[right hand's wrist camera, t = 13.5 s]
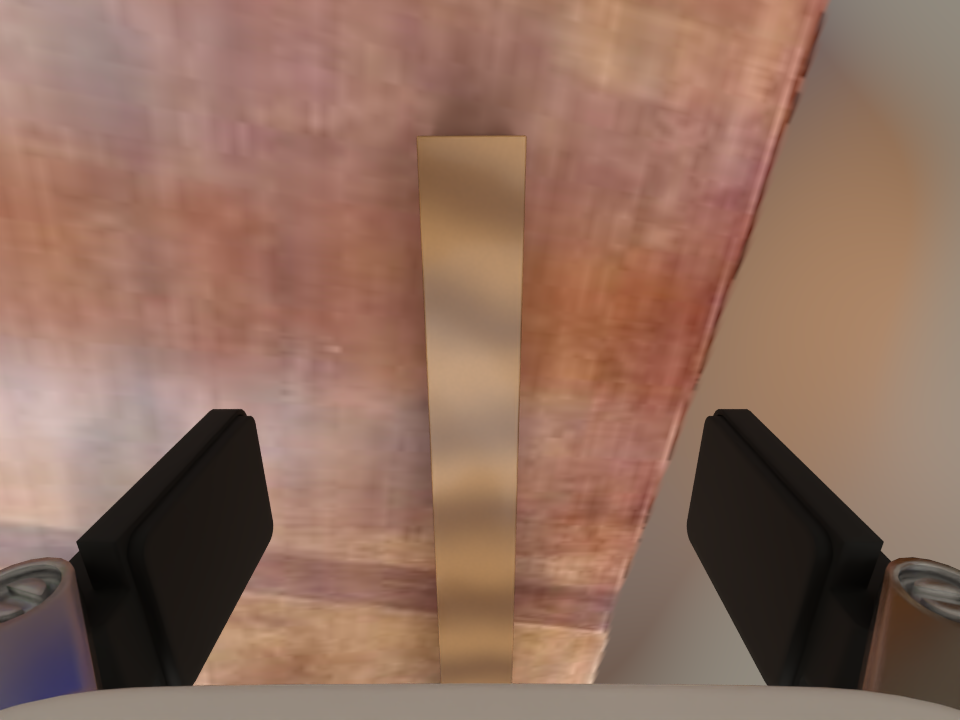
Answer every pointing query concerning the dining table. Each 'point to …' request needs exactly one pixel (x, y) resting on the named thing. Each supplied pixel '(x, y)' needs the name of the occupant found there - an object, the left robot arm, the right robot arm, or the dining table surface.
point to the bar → (473, 390)
